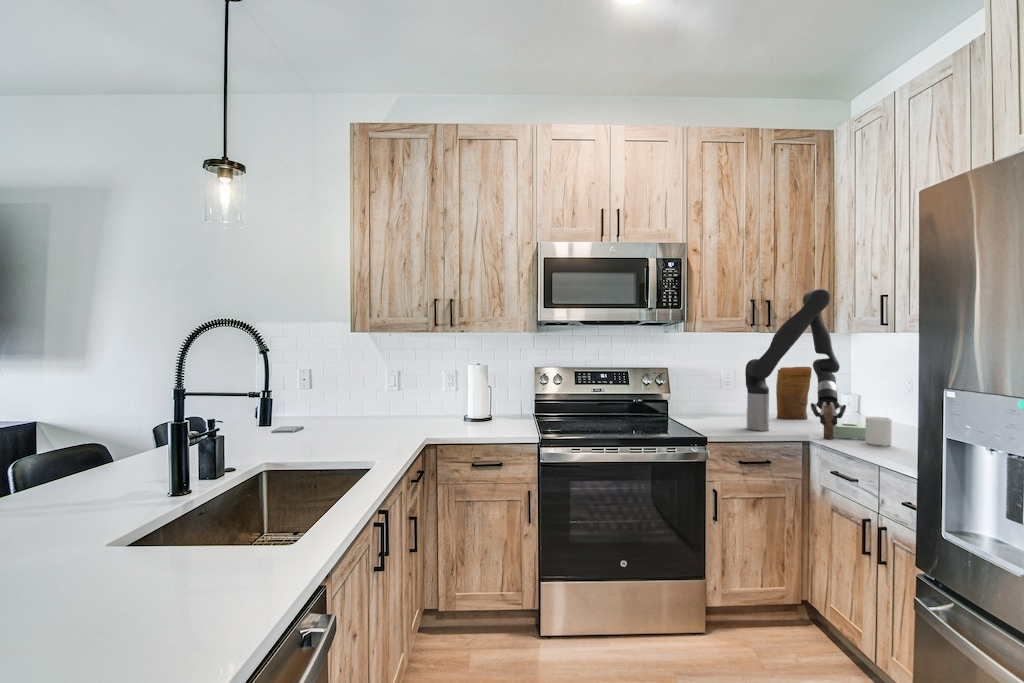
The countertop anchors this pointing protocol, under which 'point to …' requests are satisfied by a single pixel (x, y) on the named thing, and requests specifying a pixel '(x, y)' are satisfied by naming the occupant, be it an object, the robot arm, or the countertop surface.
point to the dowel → (828, 421)
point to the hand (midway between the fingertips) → (828, 424)
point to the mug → (878, 431)
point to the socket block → (850, 430)
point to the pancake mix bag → (792, 392)
